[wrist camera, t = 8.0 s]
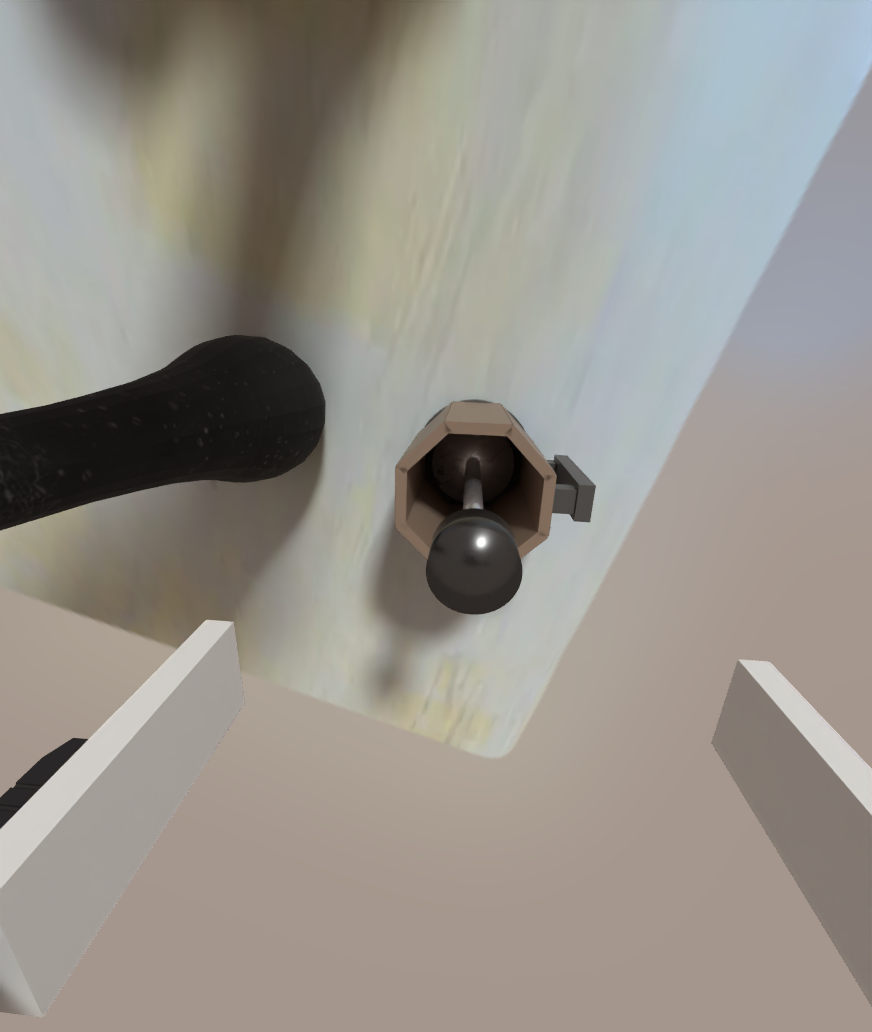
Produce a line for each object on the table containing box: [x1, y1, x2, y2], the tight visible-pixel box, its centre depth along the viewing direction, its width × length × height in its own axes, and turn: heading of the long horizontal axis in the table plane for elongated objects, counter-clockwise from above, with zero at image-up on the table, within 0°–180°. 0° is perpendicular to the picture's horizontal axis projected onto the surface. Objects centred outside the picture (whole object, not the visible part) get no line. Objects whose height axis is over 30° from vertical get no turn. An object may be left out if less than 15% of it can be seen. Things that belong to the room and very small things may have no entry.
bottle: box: [0, 335, 325, 530], centre depth 26 cm, size 11×11×30 cm
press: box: [395, 400, 596, 560], centre depth 34 cm, size 10×12×13 cm
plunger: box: [426, 433, 522, 614], centre depth 29 cm, size 7×7×21 cm
